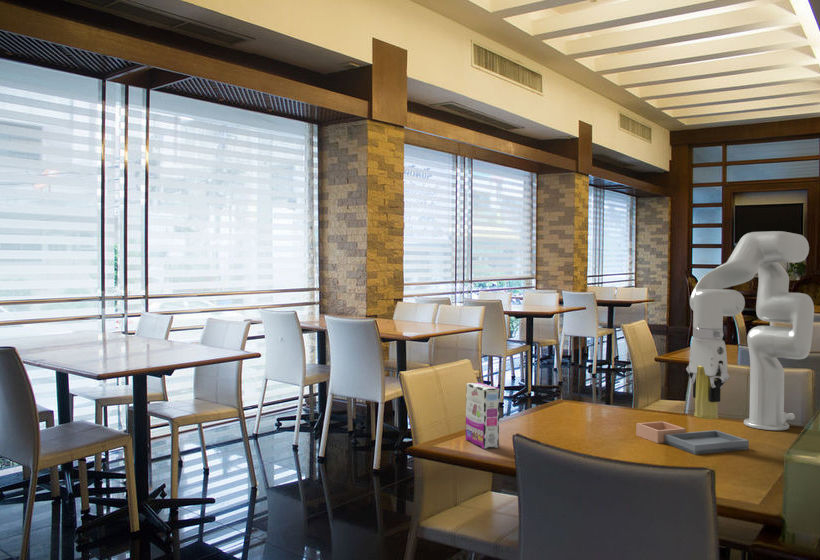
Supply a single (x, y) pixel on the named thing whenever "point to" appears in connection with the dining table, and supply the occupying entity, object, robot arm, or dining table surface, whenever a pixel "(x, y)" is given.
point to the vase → (704, 397)
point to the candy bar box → (482, 415)
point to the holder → (657, 430)
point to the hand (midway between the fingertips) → (706, 398)
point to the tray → (706, 442)
